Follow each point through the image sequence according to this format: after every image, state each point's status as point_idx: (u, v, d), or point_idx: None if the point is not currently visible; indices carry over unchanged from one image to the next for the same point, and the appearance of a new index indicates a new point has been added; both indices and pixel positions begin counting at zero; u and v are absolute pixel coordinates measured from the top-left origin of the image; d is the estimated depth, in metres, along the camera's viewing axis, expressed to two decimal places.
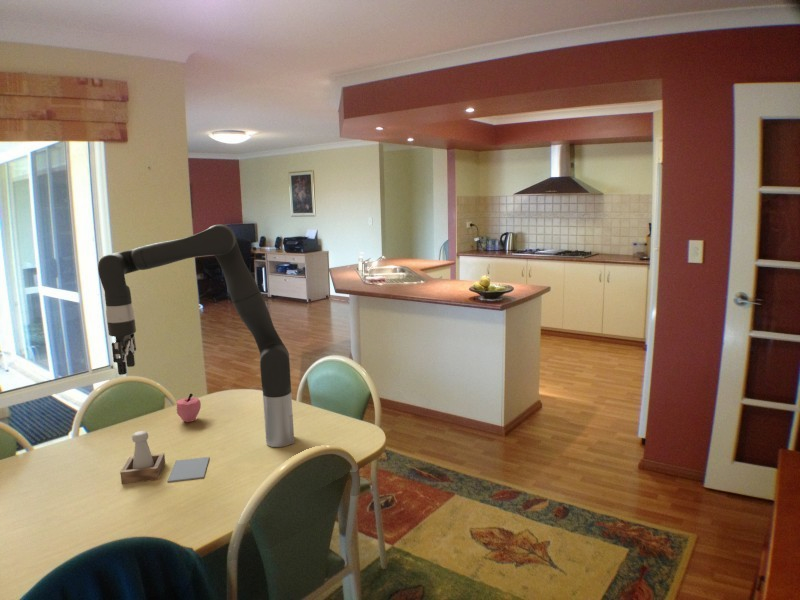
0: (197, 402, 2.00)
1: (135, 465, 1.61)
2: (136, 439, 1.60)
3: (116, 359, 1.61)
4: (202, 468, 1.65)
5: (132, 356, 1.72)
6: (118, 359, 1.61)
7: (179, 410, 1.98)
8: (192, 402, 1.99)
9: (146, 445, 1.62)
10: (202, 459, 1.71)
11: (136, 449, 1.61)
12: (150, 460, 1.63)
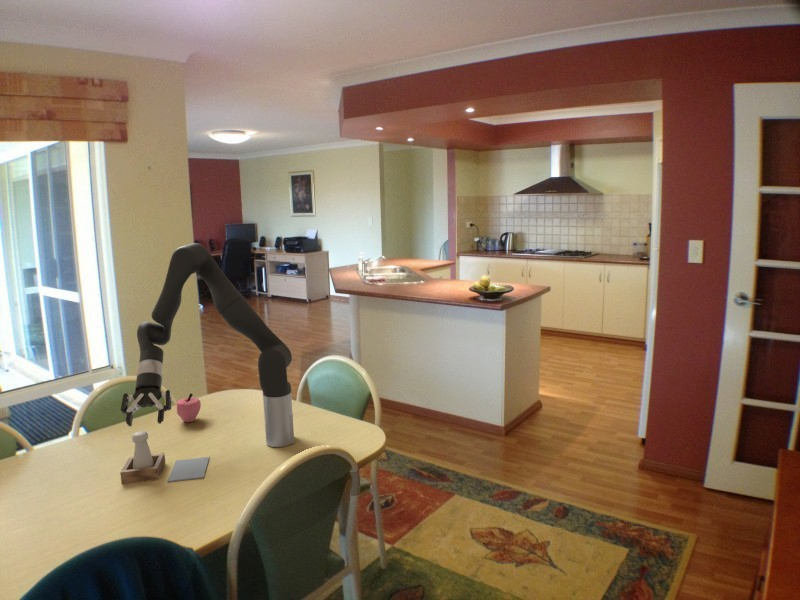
0: (197, 402, 2.00)
1: (135, 465, 1.61)
2: (136, 439, 1.60)
3: None
4: (202, 468, 1.65)
5: None
6: None
7: (179, 410, 1.98)
8: (192, 402, 1.99)
9: (146, 445, 1.62)
10: (202, 459, 1.71)
11: (136, 449, 1.61)
12: (150, 460, 1.63)
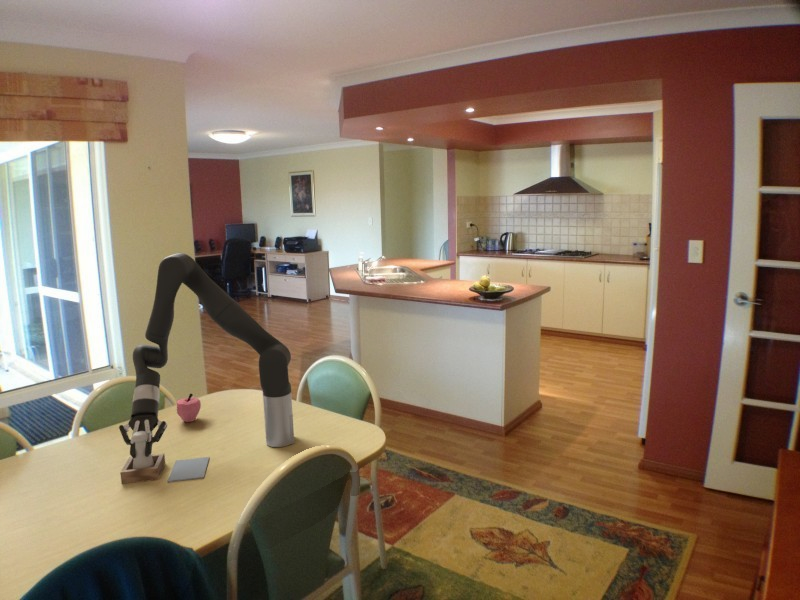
0: (197, 402, 2.00)
1: (135, 465, 1.61)
2: (136, 439, 1.60)
3: None
4: (202, 468, 1.65)
5: (146, 444, 1.62)
6: None
7: (179, 410, 1.98)
8: (192, 402, 1.99)
9: None
10: (202, 459, 1.71)
11: (136, 449, 1.61)
12: (150, 460, 1.63)
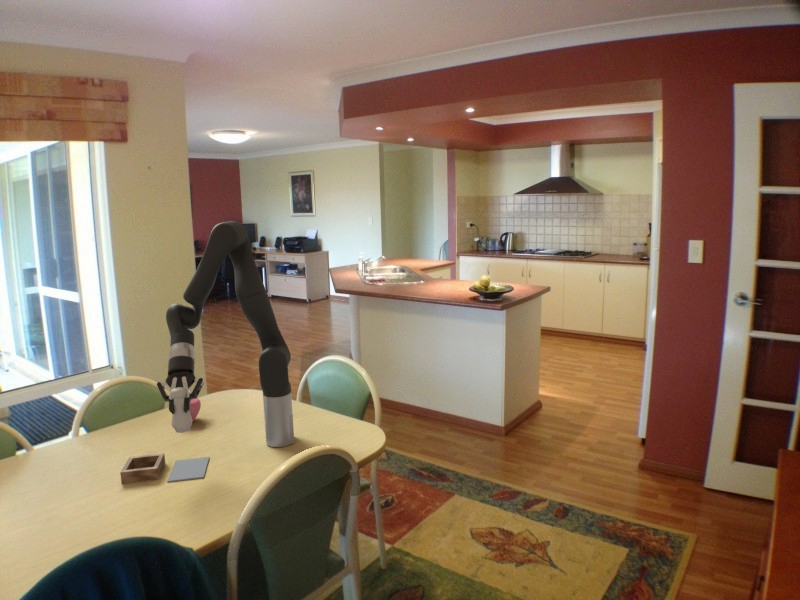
0: (197, 402, 2.00)
1: (174, 421, 1.60)
2: (175, 394, 1.59)
3: None
4: (202, 468, 1.65)
5: None
6: None
7: None
8: (192, 402, 1.99)
9: None
10: (202, 459, 1.71)
11: (175, 405, 1.60)
12: (189, 416, 1.62)
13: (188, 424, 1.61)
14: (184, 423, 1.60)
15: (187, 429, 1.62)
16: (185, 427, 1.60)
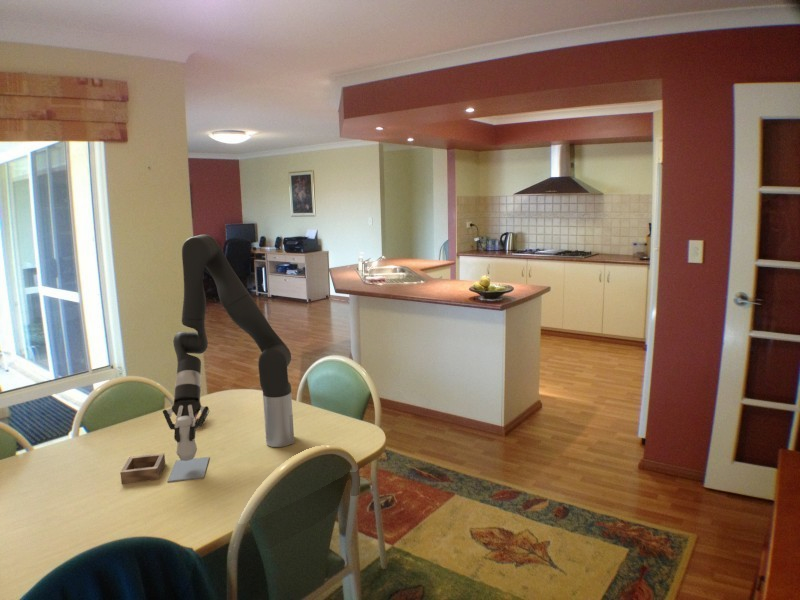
0: None
1: (179, 449, 1.62)
2: (181, 423, 1.61)
3: None
4: (202, 468, 1.65)
5: None
6: None
7: None
8: None
9: None
10: (202, 459, 1.71)
11: (181, 434, 1.62)
12: (194, 445, 1.64)
13: (193, 452, 1.63)
14: (189, 452, 1.62)
15: (192, 457, 1.64)
16: (189, 455, 1.62)
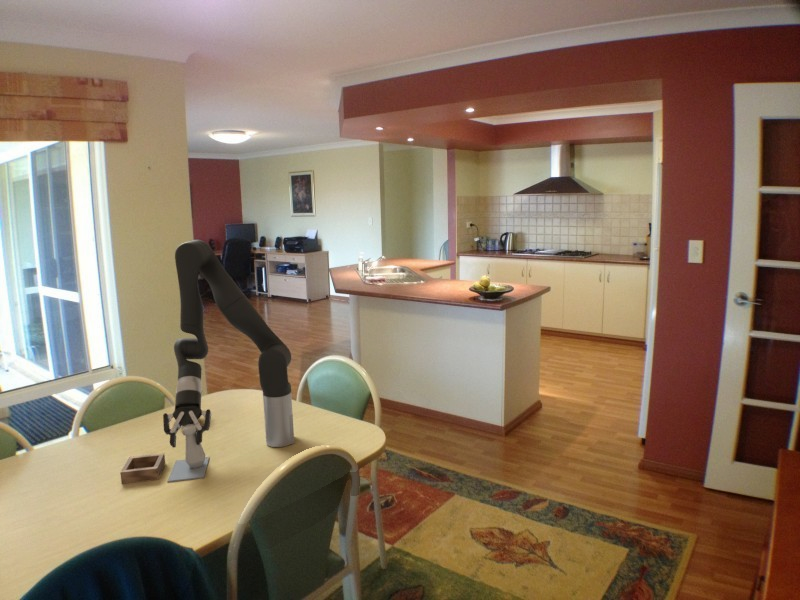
0: None
1: (188, 457, 1.64)
2: (187, 432, 1.63)
3: None
4: (202, 468, 1.65)
5: None
6: None
7: None
8: None
9: None
10: None
11: (187, 442, 1.64)
12: (201, 451, 1.66)
13: (201, 459, 1.65)
14: (197, 459, 1.64)
15: (201, 464, 1.66)
16: (198, 462, 1.65)
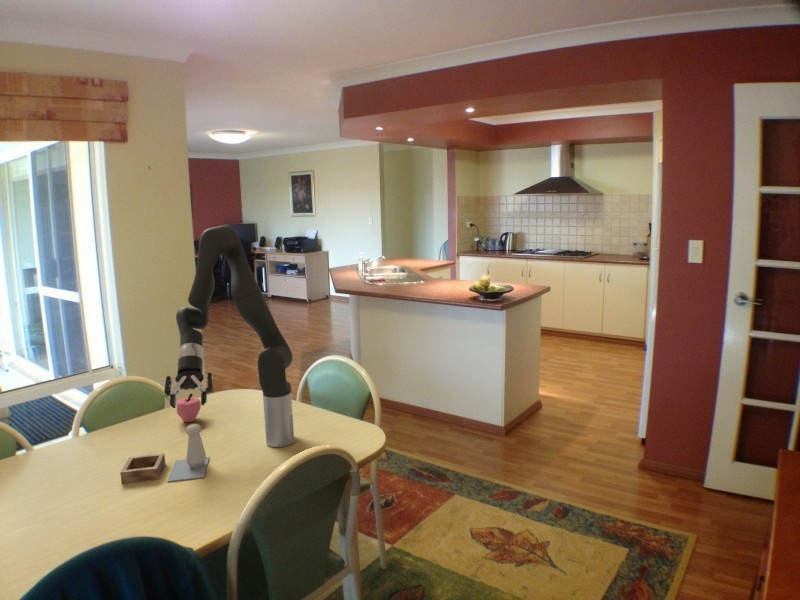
0: (197, 402, 2.00)
1: (189, 457, 1.64)
2: (190, 431, 1.63)
3: None
4: (202, 468, 1.65)
5: None
6: None
7: (179, 410, 1.98)
8: (192, 402, 1.99)
9: (199, 438, 1.65)
10: None
11: (190, 442, 1.64)
12: (203, 452, 1.66)
13: (202, 460, 1.65)
14: (198, 459, 1.64)
15: (201, 465, 1.66)
16: (199, 463, 1.65)
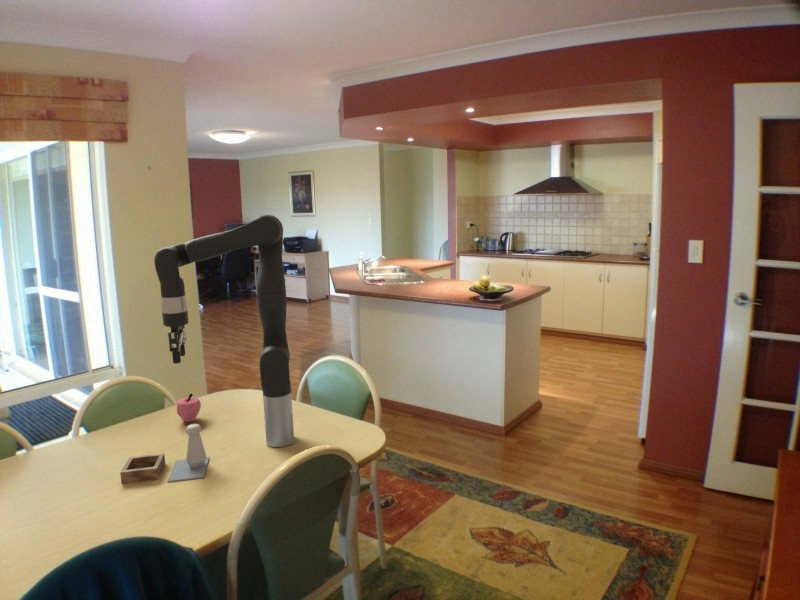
0: (197, 402, 2.00)
1: (189, 457, 1.64)
2: (190, 431, 1.63)
3: (172, 348, 1.68)
4: (202, 468, 1.65)
5: (183, 346, 1.79)
6: (174, 348, 1.68)
7: (179, 410, 1.98)
8: (192, 402, 1.99)
9: (199, 438, 1.65)
10: None
11: (190, 442, 1.64)
12: (203, 452, 1.66)
13: (202, 460, 1.65)
14: (198, 459, 1.64)
15: (201, 465, 1.66)
16: (199, 463, 1.65)
